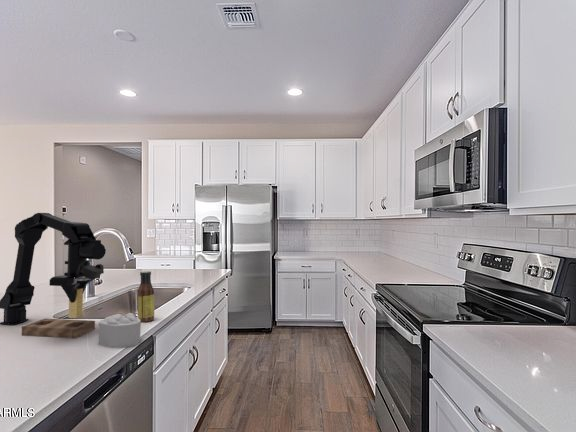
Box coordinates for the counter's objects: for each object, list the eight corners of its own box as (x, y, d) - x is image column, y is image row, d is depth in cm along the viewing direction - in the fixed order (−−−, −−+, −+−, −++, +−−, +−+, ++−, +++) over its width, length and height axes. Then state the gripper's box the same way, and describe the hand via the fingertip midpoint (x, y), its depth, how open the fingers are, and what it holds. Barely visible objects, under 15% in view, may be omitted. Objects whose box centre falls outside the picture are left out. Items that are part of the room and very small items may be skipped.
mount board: (21, 335, 119) (21, 326, 119) (44, 326, 129) (44, 318, 129) (75, 338, 117) (76, 329, 117) (94, 328, 127) (94, 320, 127)
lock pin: (68, 317, 121) (69, 289, 121) (74, 315, 124) (75, 287, 124) (76, 318, 121) (77, 289, 121) (82, 315, 124) (83, 288, 124)
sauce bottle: (157, 318, 142) (158, 270, 142) (149, 323, 135) (150, 273, 136) (142, 317, 142) (143, 270, 142) (133, 322, 136) (135, 272, 136)
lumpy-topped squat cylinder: (118, 334, 122) (119, 310, 122) (148, 339, 117) (148, 314, 117) (93, 344, 112) (94, 317, 112) (124, 350, 107) (125, 322, 108)
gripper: (80, 261, 113) (79, 309, 112) (113, 255, 131) (112, 296, 131) (48, 260, 114) (47, 307, 113) (86, 255, 132) (85, 295, 132)
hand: (75, 301), depth 122 cm, fingers closed on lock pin, 3 cm apart
